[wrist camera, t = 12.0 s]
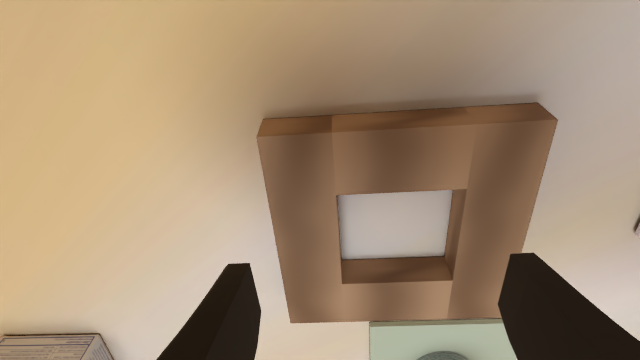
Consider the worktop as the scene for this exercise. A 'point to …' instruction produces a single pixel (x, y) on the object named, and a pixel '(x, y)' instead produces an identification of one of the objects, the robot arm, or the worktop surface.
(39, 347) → the medicine box
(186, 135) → the worktop surface
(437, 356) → the shiny metal cylinder
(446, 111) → the bore plate
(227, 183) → the worktop surface
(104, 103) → the worktop surface
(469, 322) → the rubber mat
